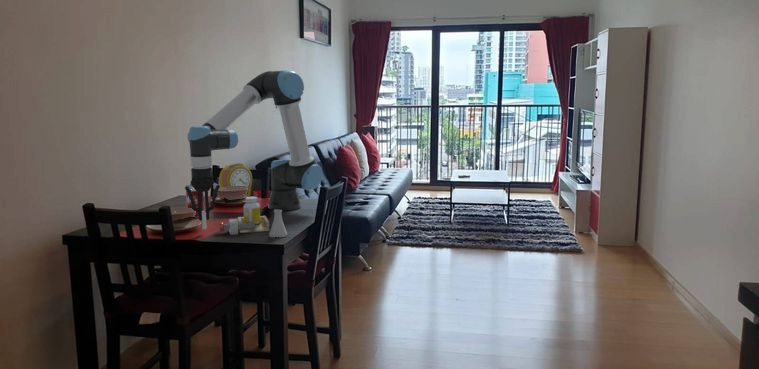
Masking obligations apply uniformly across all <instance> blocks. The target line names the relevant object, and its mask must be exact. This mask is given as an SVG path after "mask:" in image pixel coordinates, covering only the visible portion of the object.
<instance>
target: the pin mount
mask: <svg viewBox="0 0 759 369" xmlns="http://www.w3.org/2000/svg"><path fill="white" fill-rule="evenodd" d="M228 224H230V229H228V231H229V235H231V236H232V235H239V229H238V219H237V218H230V219H228Z"/></svg>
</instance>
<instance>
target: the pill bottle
mask: <svg viewBox="0 0 759 369" xmlns="http://www.w3.org/2000/svg"><path fill="white" fill-rule="evenodd" d="M244 200H245V204H243V206H242V207H243V208H242V209H243V217H244V223H248V222H254V223H255V227H258V226H260V216H261V204H260V203H259V202H258V197H257V196H250V197H246V198H245V199H244Z"/></svg>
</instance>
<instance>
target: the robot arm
mask: <svg viewBox="0 0 759 369" xmlns="http://www.w3.org/2000/svg"><path fill="white" fill-rule="evenodd" d="M304 91H305V84H304V81H303V78H302V77H301V76H300V74H298V73H297V72H296V71H293V70H273V71H272V70H268V71H264V72H262V73H260V74H258V75H257V76H255V77H254V78H252V79H251V80H249V81H248V82H247V83H246V84H245V85H244V86H243V88H242V90H241V91H240V93H238V94H237V95H236V96H235V97H234V98H232V99H231V100H230V101H229V102H228V103H226V104H225V105H224V106H223V107H222V108H220V110H218V111H217V112H216V113H214V115H213V116H211V117H210V118H209V119H208V120H206V122H205V123H203V124H202V125H194V126H191V127H189V130H188V131H189V132H188V133H187V141H188V143H189V152H190V153H189V154H190V167H191V169H190V173H191V181H190V183H189V184H187V185H185V186H184V190H185V192H186V191H187V192H188V194H189V197H190V200H191V204H192V207H193V210H194V211H198V213H199V218H198V221H202V222H201V224H202V225H201V226H202V230H207V229H208V225H207V221H209V220H210V211H213V210H214V209H215V204H216V199H217V195H218V191H219V190H220V189H221V188H220V183H219V184H217V183H216V182H215V181H214V178H213V168H212V165H213V164H212V163H213V160H212V159H213V158H212V151H219V150H220V151H221V150H230V149H235V148H236V147H237V146H238V144H239V137H238V136H239V135H238V134H237V132H236V131H235V130H233V129H229V127H231V125H233V124H234V123H235V122H236V121H238V120H239V119H240V118H241V117H242V116H243V115H244V114H246V112H247V111H249V110H251V108H253V106H255V105H259V104H261V103H262V102H263V101H265V100H267V99H273V104H274V106H276V107H277V108H278V110H279V113H280V118H281V122H282V125H283V126H282V127H283V130H284V134H285V138H286V143H287V147H288V151H289V156H290V158H285V159H277V160H273V161H271V164H270V178H271V179H270V181H271V182H270V183H271V193H270V195H269V200H268V203H267V206H268V210H272V211H274V210H282V212H283V211H294V210H298V209H301V207H302V206H301V199H300V198H299V195H298V190H297V189H303V190H309V191H310V190H314V189H316V188H318V187H319V186H320V185H321V182H322V179H323V175H324V174H323V169H322V167H321V166H320V165H319V164H316V160H315V157H314V156H312V155H311V154H310V149H309V144H308V139H307V136H306V131H305V128H304V122H303V118H302V113H301V108H300V105H299V104H300V102H301V101H302V96H303V94H304ZM212 187H213V193H212V196H211V197H212V198H211V201H210V200H209V191H210V189H212ZM192 188H194V189H195V190H196V191H197V192H198V207H196V204H195V201H194V198H193V194H192V191H191V190H192ZM201 192H204V209H205V210H204V211H202V203H201ZM209 202H210V203H209ZM209 204H210V205H209Z"/></svg>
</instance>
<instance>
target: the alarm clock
mask: <svg viewBox="0 0 759 369" xmlns="http://www.w3.org/2000/svg"><path fill="white" fill-rule="evenodd" d="M252 174H253V173H252V172H251V170H250V168H249V167H247V166H245V165H244V163H241V162H233V163H230V164H227V165H225V166H224V167H223V168H222V169H221V170H220V173H219V177H218V180H219V181H218V183H219V185H220V187H228V186H230V187H231V186H246V187H248V194H247V196H250V197H251V193H252V185H253V175H252Z"/></svg>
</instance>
